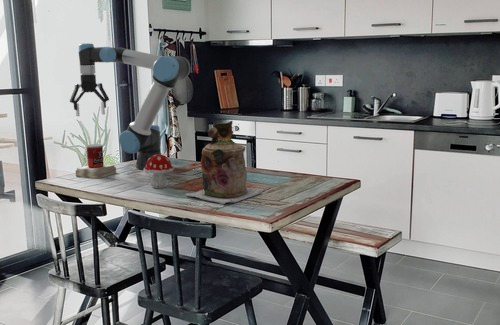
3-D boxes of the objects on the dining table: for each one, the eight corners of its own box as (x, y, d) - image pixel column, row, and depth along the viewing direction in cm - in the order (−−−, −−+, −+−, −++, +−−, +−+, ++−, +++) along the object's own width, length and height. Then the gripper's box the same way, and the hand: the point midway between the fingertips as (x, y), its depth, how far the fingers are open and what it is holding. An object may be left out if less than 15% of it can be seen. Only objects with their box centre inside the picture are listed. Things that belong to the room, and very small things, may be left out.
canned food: (94, 168, 265) (93, 147, 263) (84, 167, 270) (83, 145, 268) (107, 166, 271) (105, 144, 269) (97, 164, 276) (95, 143, 274)
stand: (116, 172, 275) (115, 165, 274) (98, 178, 262) (98, 170, 261) (94, 170, 280) (93, 163, 279) (76, 176, 267) (75, 168, 267)
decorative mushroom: (157, 182, 252) (155, 150, 249) (181, 185, 246) (179, 153, 243) (137, 188, 240) (135, 155, 237) (162, 191, 234) (161, 158, 231)
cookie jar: (222, 186, 243) (221, 116, 237) (265, 194, 228) (265, 119, 222) (183, 197, 225) (180, 121, 219) (227, 206, 209) (225, 125, 203)
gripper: (108, 73, 286) (110, 113, 290) (61, 74, 271) (64, 116, 275) (113, 73, 280) (116, 114, 284) (66, 74, 265) (69, 117, 269)
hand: (90, 115), depth 279 cm, fingers open, 13 cm apart
